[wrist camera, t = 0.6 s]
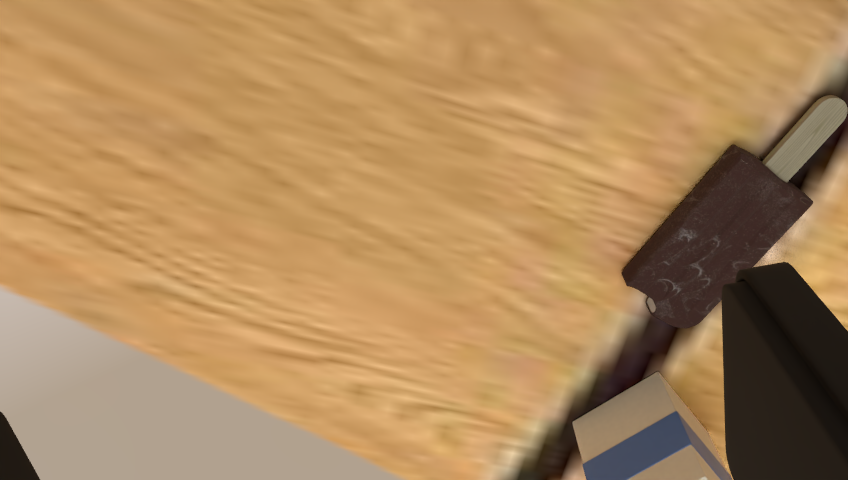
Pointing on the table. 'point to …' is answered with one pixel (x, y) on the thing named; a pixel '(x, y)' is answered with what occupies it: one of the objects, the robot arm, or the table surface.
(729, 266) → the ice cream bar
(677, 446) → the milk carton
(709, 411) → the table surface
